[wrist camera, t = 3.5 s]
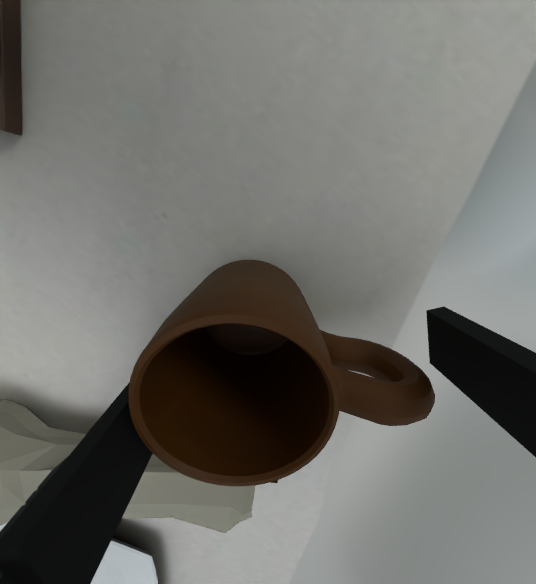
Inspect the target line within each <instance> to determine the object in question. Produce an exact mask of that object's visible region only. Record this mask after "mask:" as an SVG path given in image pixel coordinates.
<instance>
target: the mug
mask: <svg viewBox="0 0 536 584" xmlns="http://www.w3.org/2000/svg"><path fill="white" fill-rule="evenodd" d="M348 370H350V371H348ZM351 371H356V372H361V373H364V374H367V375H370V376H372V377H369V376H365V375H362V374H358V373H355V372H351ZM373 377H374V378H373ZM434 402H435V394H434V391H433V388H432V385H431V382H430V380H429V378H428V377H427V376H426V374H425V373H424V372H423V371H422V370H421V369H420V368H419V367H418V366H416V365H415V364H414V363H412V362H411V361H410V360H409V359H407V358H406V357H404V356H403V355H401V354H399V353H398V352H396V351H394V350H392V349H390V348H387V347H385V346H382V345H380V344H377V343H374V342H370V341H366V340H362V339H356V338H348V337H341V336H336V335H333V334H329V333H326V332H324V331H322V330H319V328H318V325H317V323H316V321H315V319H314V317H313V315H312V313H311V310H310V309H309V307H308V305H307V303H306V301H305V299H304V296H303V295H302V293H301V291H300V289H299V287H298V286H297V285H296V283H295V282H294V280H293V279H292V278H291V277H290V276H289V275H288V274H286V273H285V272H284V271H283V270H281V269H279V268H278V267H276V266H274V265H271V264H269V263H266V262H262V261H256V260H241V261H235V262H231V263H229V264H226V265H224V266H222V267H220V268H218V269H217V270H215V271H214V272H212V273H211V274H210V275H209V276H208V277H207V278H206V279H205V280H204V281H203V282H202V283H201V284H200V285H199V286H198V287H197V288H196V289H195V290H194V291H193V292H192V293H191V294H190V295H189V296H188V297H187V298H186V299H185V300H184V301H183V302H182V303H181V304H180V305H179V306H178V307H177V308H176V309H175V310H174V311H173V312H172V314H171V315H170V316H169V317H168V318H167V319H166V320H165V321H164V323H163V324H162V325H161V327H160V328H159V329H158V331H157V332H156V334H155V335H154V337H153V338H152V340H151V341H150V342H149V344H148V345H147V346H146V348H145V349H144V350H143V352H142V353H141V355H140V356H139V358H138V360H137V362H136V364H135V366H134V369H133V372H132V375H131V379H130V385H129V409H130V414H131V418H132V421H133V424H134V427H135V429H136V431H137V432H138V434H139V436H140V438H141V439H142V441H143V442H144V444H145V445H146V446H147V447H148V449H149V450H150V451H151V452H152V453H153V454H154V455H155V456H156V457H157V458H159V459H160V460H161V461H162V462H163V463H165V464H166V465H168V466H169V467H171V468H172V469H174V470H175V471H177V472H179V473H181V474H183V475H185V476H188V477H190V478H193V479H195V480H198V481H202V482H205V483H210V484H215V485H221V486H254V485H259V484H265V483H269V482H272V481H276V480H279V479H281V478H284V477H286V476H288V475H290V474H292V473H294V472H296V471H298V470H299V469H301V468H302V467H304V466H305V465H307V464H308V463H309V462H310V461H311V460H313V459H314V458H315V457H316V456H317V455H318V454H319V453H320V451H321V450H322V449H323V448H324V447H325V445H326V444H327V442H328V440H329V439H330V437H331V435H332V433H333V431H334V429H335V425H336V422H337V419H338V415H339V411H342V412H345V413H348V414H351V415H354V416H357V417H360V418H363V419H366V420H369V421H372V422H375V423H377V424H381V425H388V426H397V425H408V424H411V423H414V422H417V421H420V420H422V419H425V418H426V417H427V416H428V415H429V413H430V412H431V409H432V407H433V405H434Z"/></svg>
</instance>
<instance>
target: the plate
mask: <svg viewBox="0 0 536 584" xmlns="http://www.w3.org/2000/svg"><path fill="white" fill-rule="evenodd" d="M7 523H8V522H7ZM7 523H5V524H3V525H1V526H0V531H1V530H2V529H3V528H4V526H5V525H6V524H7ZM91 584H159V582H158V577H157V571H156V566H155V562H154V558H153V555H152V553H150V552H147V551H145V550H142V549H140V548H137V547H135V546H132V545H130V544H127V543H124V542H122V541H119V540H116V539H114V538H112V540H111V542H110V544H109V546H108V548H107V550H106V552H105V554H104V556H103V559H102V561H101V563H100V565H99V567H98V569H97V571H96V573H95V575H94V577H93V579H92V582H91Z"/></svg>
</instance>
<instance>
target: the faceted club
mask: <svg viewBox="0 0 536 584" xmlns="http://www.w3.org/2000/svg"><path fill="white" fill-rule="evenodd" d="M85 436H86V434H82V433H76V432H71V431H66V430H60V429H55V428H50V427H48V426H47V425H46V424H44V423H43V422H42V421H41V420H40V419H39V418H37V417H36V416H35V415H34V414H33V413H32V412H30V411H29V410H28V409H27V408H26V407H24V406H22V405H19V404H17V403H14V402H12V401H9V400H6V399H4V400H0V526H1V525H3V524H5V523H7V522H9V520H10V519H11V518H12V517H13V516H14V515H15V513H16V512H17V511H18V510H19V509H20V507H21V506H22V505H25V503H26V502H25V501H26V500H27V499H28V498H29V497H30V496H31V494H32V493H33V492H34V491H36V490H37V489H38V488H37V487H38V486H39V485H40V484H41V483H42V481H43V480H44V479H45V478H46V477H47V475H48V474H49V473H50V472H51V471H52V470H53V469H54V468H55V467H56V466H57V465H59V464H60V463H61V462H62V461H63V460H64V459H65V458H67V457H68V456H69V455H70V454H71V452H72V451H73V450H74V449H75V448H76V446H77V445H78V444H79V443H80V442H81V440H82V439H83V438H84V437H85ZM271 483H278V480H276V481H272V482H271ZM254 491H255V485H254V486H221V485H215V484H210V483H205V482H202V481H198V480H195V479H193V478H190V477H188V476H185V475H183V474H181V473H179V472H177V471H175V470H174V469H172V468H171V467H169V466H168V465H166V464H165V463H163V462H162V461H161V460H160V459H159V458H157V457H156V456H155V455H154V454H152V456H151V458H150V460H149V462H148V465H147V467H146V469H145V471H144V473H143V475H142V477H141V479H140V481H139V483H138V485H137V488H136V490H135V492H134V494H133V496H132V498H131V500H130V502H129V504H128V506H127V508H126V511H125V513H124V515H123V517H122V518H176V519H179V520H183V521H186V522H189V523H193V524H196V525H200V526H203V527H206V528H210V529H213V530H216V531H220V532H223V533H226V532H227V531H228V530H230V529H231V528H232V527H234V526H235V525H236V524H238V523H239V522H241V521H243V520H245V519H248V518H250V517H252V505H253V498H254Z"/></svg>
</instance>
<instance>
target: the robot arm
mask: <svg viewBox="0 0 536 584" xmlns="http://www.w3.org/2000/svg"><path fill="white" fill-rule="evenodd" d="M427 325H428V341H429V357H430V363H431V364H432V365H433V366H434V367H435V368H436V369H437V370H438V371H440V372H441V373H442V374H443V375H444V376H445V377H446V378H447V379H449V380H450V381H451V382H452V383H453V384H454V385H455V386H456V387H458V388H459V389H460V390H461V391H462V392H463V393H464V394H465V395H467V396H468V397H469V398H470V399H471V400H472V401H473V402H474V403H476V404H477V405H478V406H479V407H480V408H481V409H482V410H483V411H484V412H486V413H487V414H488V415H489V416H490V417H491V418H492V419H493V420H495V421H496V422H497V423H498V424H499V425H500V426H501V427H502V428H504V429H505V430H506V431H507V432H508V433H509V434H510V435H511V436H512V437H514V438H515V439H516V440H517V441H518V442H519V443H520V444H521V445H523V446H524V447H525V448H526V449H527V450H528V451H529V452H530V453H532V454H533V455H534V456H535V457H536V353H535V352H533V351H531V350H529V349H527V348H525V347H523V346H521V345H518V344H517V343H515V342H513V341H511V340H509V339H507V338H505V337H503V336H501V335H499V334H497V333H495V332H493V331H491V330H489V329H487V328H485V327H483V326H481V325H479V324H477V323H475V322H473V321H471V320H469V319H467V318H465V317H463V316H461V315H459V314H457V313H455V312H453V311H451V310H449V309H448V308H445V307H440V308H436V309H431V310H427ZM129 385H130V382H129V383H128V385H127V386H126V387H125V388H124V390H123V391H122V392H121V393H120V394H119V396H118V397H117V398H116V399H115V400H114V402H113V403H112V404H111V405H110V406H109V408H108V409H107V410H106V411H105V413H104V414H103V415H102V416H101V417H100V419H99V420H98V421H97V422H96V423H95V425H94V426H93V427H92V428H91V429H90V431H89V432H88V433H87V434H86V436H85V437H84V438H83V439H82V440H81V442H80V443H79V444H78V445H77V446H76V448H75V449H74V450H73V451H72V452H71V454H70V455H69V456H68V457H67V458H65V459H64V460H63V461H62V462H61V463H60V464H59V465H57V466H56V467H55V468H54V469H53V470H52V471H51V472H50V473H49V474H48V475H47V477H46V478H45V479H44V480H43V481H42V483H41V484H40V485H39V486H38V487H37V488H38V489H37V490H36V491H34V492H33V493H32V494H31V496H30V497H29V498H28V499H27V500H26V501H25V502H26V503H25V505H22V506H21V507H20V509H19V510H18V511H17V512H16V513H15V515H14V516H13V517H12V518H11V519H10V520H9V522H8V523H7V524H6V525H5V526H4V528H3V529H2V530H1V531H0V584H91V582H92V579H93V577H94V575H95V573H96V571H97V569H98V567H99V565H100V563H101V561H102V559H103V556H104V554H105V552H106V550H107V548H108V546H109V544H110V542H111V540H112V538H113V536H114V533H115V531H116V529H117V527H118V525H119V523H120V521H121V519H122V517H123V515H124V513H125V511H126V508H127V506H128V504H129V502H130V500H131V498H132V496H133V494H134V492H135V490H136V488H137V485H138V483H139V481H140V479H141V477H142V475H143V473H144V471H145V469H146V467H147V465H148V462H149V460H150V458H151V456H152V454H153V453H152V452H151V451H150V450H149V449H148V447H147V446H146V445H145V444H144V442H143V441H142V439H141V438H140V436H139V434H138V432H137V431H136V429H135V427H134V424H133V421H132V418H131V414H130V409H129Z"/></svg>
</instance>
